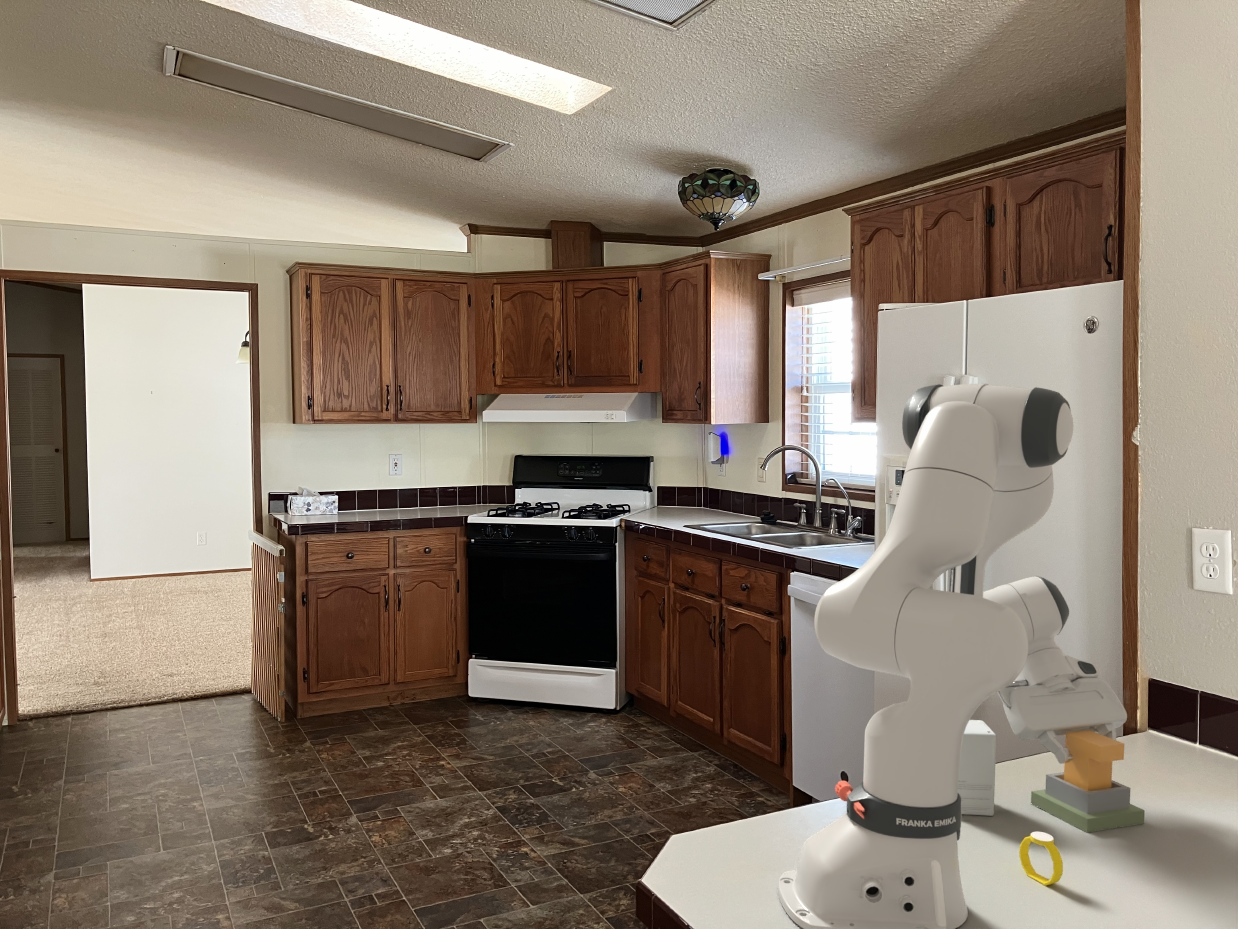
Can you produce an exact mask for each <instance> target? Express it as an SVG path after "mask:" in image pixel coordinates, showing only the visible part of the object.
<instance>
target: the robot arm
mask: <svg viewBox="0 0 1238 929" xmlns="http://www.w3.org/2000/svg"><path fill="white" fill-rule="evenodd" d="M901 423H902V435H903V440H904V442H905V445H907V447H908V448H909V449H910V451H909V456H908V459H907V462H906V465H905V468H904V473H903V478H902V481H901V486H900V490H899V494H898V497H897V500H896V504H895V506H894V507H895V508H894V511H893V515H892V517H891V520H890V524H889V526H888V529H887V531H886V534H885V535H884V536H883V538H882V540H881V542H880V543H879V545H878V546H877V548H876V549H875V550H874V552H873V553H872V554H871V555H870V557H869V558H868V559H867V560H866V561H865V562H863V563H862V565H861V566H860V567H859V568H857V570H855V571H854V572H853V573H851V574H849V575H848V576H847V577H845V578H843V579H842V580H840V581H838V582H836V583H833V584H831V585H830V586H829V587H828V588H827V589H826V590H825V592H824V593H823V594H822V595H821V596H820V598H819V601H818V602H817V605H816V608H815V612H814V620H813V621H814V622H813V623H814V631H815V636H816V638H817V641H818V644H819V645H820V647H821V649H822V650H823V651H824V652H825V653H826V655H829V656H831V657H833V658H836V659H838V660H840V661H842V662H844V663H846V664H848V665H852V666H854V667H856V668H859V669H864V670H869V671H874V672H879V673H883V674H889V675H895V676H899V677H902V678H903V677H904V678H907V679H909V681H910V682H909V683H910V688H909V694H908V697H907V699H906V700H904V701H901V702H896V703H893V704H891V705H889V706H886V707H884V708H883V707H882V708H881V709H879V710H878V711H877V712H875V713H874V714H873V715H872V716H871V718H870V719H869V721H868V722H867V725H866V726H865V729H864V745H863V746H864V747H863V748H864V749H863V779H862V780H861V782H860V783H859V785H858V786H856V787H855V788H853V787H852V785H851V784H850V783H849V782H848V781H846V780H840V781H838V782H837V784H835V787H834V790H835V791H834V792H835V793H836V794H837V796H838V797H839V799H840V800H841V801H843V802H846V812H845V813H844V814H842V815H841V816H840V817H837V818H836V819H835V820H834V821H832V822H831V823H829V824H827V825H826V826H824V827H823V828H821V829H820V830H818V831H817V832H815V833H814V834H812V835H810V836H809V837H808V838H806V840H805V841H804V843H803V844H802V845H801V849H800V852H799V856H798V861H797V865H796V866H797V867H796V869H794V870H793V869H792V870H785V871H784V872H783V873H781V875H780V876H779V879H778V885H777V895H778V898H779V900H780V904H781V905H782V907H783V909H784V911H785V913H787V915H788V916H789V918H790V919H791V920H792V921H793V922H794V923H795V924H797V926H799V927H800V928H802V929H956V928H959V927H960V926H962V925H963V924H964V923H965V922H966V920H967V919H968V916H969V911H968V907H967V904H966V899H965V895H964V891H963V884H962V878H961V871H960V861H959V850H958V849H959V847H958V846H959V845H958V842H959V840H960V838H961V827H962V816H963V814H961V797H960V794H959V793H958V776H959V763H960V753H961V746H962V740H963V735H964V732H965V729H966V726H967V724H968V722H969V720H971V718H972V716H973V715H974V713H975V712H976V711H977V709H978V708H979V706H981V705H982V704H983V702H985V701H986V700H988V698H990V697H991V696H993V695H994V694H996V693H997V694H998V697H999V698H1000V701H1001V702H1002V705H1003V709H1004V713H1005V716H1006V718H1007V720H1008V723H1009V725H1010V728H1011V730H1012V732H1013V734H1014V736H1016V737H1017V738H1018V739H1020V741H1028V740H1037V739H1038V740H1039V742H1040V743H1041V745H1042V746H1044V747H1045V749H1046V750H1048V751H1049V752H1050V753H1052V754H1053V755H1054V756H1055V758H1056V760H1057V762H1058V763H1059V764H1065V763H1069V762H1070V761H1071V760H1073V755H1072V754H1071V753H1070V750H1069V748H1065V747H1064V746H1063V745H1062V744H1061V743H1060V742H1059V741H1057V739H1056V738H1057V737H1062V736H1063V737H1066V733H1068V732H1077V731H1085V730H1090V731H1093V732H1095V733H1098V734H1101V735H1103V736H1106V737H1108V738H1111V739H1114V740H1116V741H1117V729H1119V728H1120V727H1121V726H1122V725H1123V724H1125V723H1126V722H1127V718H1128V713H1127V711H1126V709H1125V706H1124V705H1123V704H1122V702H1121V700H1120V699H1119V696H1117V694H1116V692H1115V691H1114V690H1113V688H1112V686H1111V685H1110V684H1109V683H1108V682H1107V681H1106V680H1104V679H1103V678H1100V676H1101V675H1102V671H1101V669H1100V667H1099V666H1098V665H1097V664H1096V663H1093V662H1088V661H1085V660H1082V659H1077V658H1075V657H1073V656H1069V655H1065V653H1064V651H1063V650H1062V649H1061V648H1060V647H1059V645H1058V644H1057V643H1056V642H1055V637H1056V636H1058V635H1060V633H1061V632H1062V630H1063V628H1064V626H1065V624H1066V623H1067V621H1068V619H1069V616H1070V609H1069V606H1068V604H1067V601H1066V599H1065V597H1064V596H1063V594H1062V593H1061V590H1060V589H1059V588H1058V586H1057V585H1056V584H1054V583H1053V582H1052V581H1050V580H1048V579H1046V578H1044V577H1041V576H1039V575H1035V576H1030V577H1025V578H1022V579H1019V580H1015V581H1011V582H1009V583H1006V584H1001V585H998V586H996V587H993V588H992V589H988V590H985V589H984V588H985V577H986V576H985V573H986V566H987V563H988V561H989V560H990V558H991V557H993V555H994V554H995V553H996V552H997V551H998V550H999V549H1000V548H1002V547H1003V546H1004V545H1006V544H1007V543H1008V542H1010V541H1011V540H1013V539H1014V538H1015V537H1017V536H1019V535H1020V534H1022V533H1023V532H1026V531H1028V530H1029V529H1030V528H1032V527H1033V526H1035V525H1036V524H1037V523H1038V522H1039V521H1040V520H1042V519H1043V517H1044V516H1045V515H1046V513H1047V512H1048V511H1049V509H1050V507H1051V504H1052V500H1053V497H1054V489H1055V488H1054V486H1055V484H1054V474H1053V465H1055V464H1056V463H1058V462H1059V461H1060V460H1062V459H1063V458H1064V457H1065V456H1066V453H1067V452H1068V449H1069V446H1070V444H1071V442H1072V440H1073V435H1074V418H1073V415H1072V410H1071V406H1070V403H1069V401H1068V400H1067V399H1066V398H1065V397H1064V396H1063V395H1062V394H1061V393H1060V392H1059V391H1055V390H1052V389H1048V388H1042V387H1037V386H1036V387H1034V388H1032V389H1031V388H1026V387H1018V386H1010V385H1009V386H1008V385H998V384H997V385H994V384H989V383H967V384H966V383H964V384H961V383H960V384H952V385H943V384H933V385H928V386H923V387H919V388H918V389H917V390H915V391H914V393H912V394H911V396H910V397H908V399H907V401H906V402H905V406H904V409H903V413H902V422H901ZM947 571H950V575H949V591H947V590H940V589H932V588H931V586H932V585H933V583H935V581H936V580H938V578H939V577H940V576H941V575H942V574H944V573H945V572H947ZM984 590H985V591H984Z"/></svg>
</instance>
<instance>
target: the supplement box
mask: <svg viewBox="0 0 1238 929" xmlns="http://www.w3.org/2000/svg"><path fill="white" fill-rule="evenodd" d="M996 753H997V735H996V733H995V731H993V730H992V729H991V728H990V726H988V725H987V724H986V722H984V721H983V720H977V719H970V720H969V722H968V724H967V726H966V729H965V732H964V735H963V740H962V746H961V753H960V763H959V776H958V793H959V794H960V797H961V815H969V816H971V815H972V816H988V817H989V816H991V817H992V816H994V814H995V790H996V784H995V783H996V757H997V754H996Z"/></svg>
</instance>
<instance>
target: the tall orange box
mask: <svg viewBox="0 0 1238 929" xmlns="http://www.w3.org/2000/svg"><path fill="white" fill-rule="evenodd" d="M1064 742H1065V744H1064V745H1065V747H1064V748H1069V750H1070V753H1071V754H1072V755H1073V760H1071V761H1070V762H1069V763H1064V766H1063V767H1064V768H1063V772H1064V781H1066V782H1068V783H1071V784H1073V785H1075V786H1077V787H1079V788H1081V789H1084V790H1086V791H1095V790H1103V789H1110V788H1111V782H1112V780H1113V778H1112V777H1113V776H1112V775H1113V762H1115V761H1122V760H1125V743H1124V742H1122V741H1119V740H1117V739H1116V740H1114V739H1111V738H1108V737H1106V736H1103V735H1101V734H1099V733H1098V732H1093V731H1090V730H1085V731H1077V732H1068V733H1066V735H1065V741H1064Z"/></svg>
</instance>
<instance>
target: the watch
mask: <svg viewBox="0 0 1238 929" xmlns="http://www.w3.org/2000/svg"><path fill="white" fill-rule="evenodd" d="M1031 843H1034V844H1036V845H1037V846H1042V847H1045V848H1046V850H1047V851H1048V853H1049V855H1050V858H1051V861H1052V864H1053V865H1052V866H1053V868H1052V870H1053V871H1052V872H1053V873H1052V875H1051V878H1050V879H1048V878H1046V877H1044V876H1043V875H1041V874H1039V873H1037V872H1036V870H1035V869H1034V867H1033V865H1032V864H1031V860H1030V855H1029V850H1030V844H1031ZM1018 853H1019V860H1020V864H1021V866H1022V867H1021V868H1022V869H1023V871H1024V872H1025V874H1026V875H1027V877H1029V878H1031V879H1033V880H1035V881H1036V882H1038V883H1039V884H1042V886H1045V887H1046V886H1051V885H1054V884H1056V883H1059V881H1060V880H1061V879H1062V876H1063V875H1064V874H1063V872H1064V869H1063V868H1064V862H1063V858H1062V856H1061V853H1060V851H1059V849H1058V847H1057V846H1056V845H1055V844H1054V836H1052V835H1051V834H1049V833H1048V832H1044V831H1043V832H1042V831H1032V832H1031V833H1030V834H1029V836H1025V837H1024V838H1023V840H1022V841H1021V843H1020V845H1019V852H1018Z"/></svg>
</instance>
